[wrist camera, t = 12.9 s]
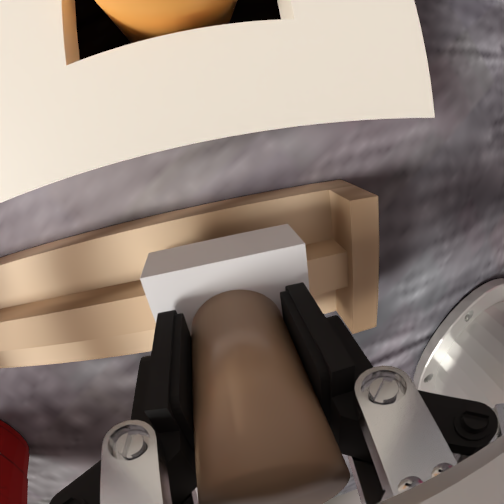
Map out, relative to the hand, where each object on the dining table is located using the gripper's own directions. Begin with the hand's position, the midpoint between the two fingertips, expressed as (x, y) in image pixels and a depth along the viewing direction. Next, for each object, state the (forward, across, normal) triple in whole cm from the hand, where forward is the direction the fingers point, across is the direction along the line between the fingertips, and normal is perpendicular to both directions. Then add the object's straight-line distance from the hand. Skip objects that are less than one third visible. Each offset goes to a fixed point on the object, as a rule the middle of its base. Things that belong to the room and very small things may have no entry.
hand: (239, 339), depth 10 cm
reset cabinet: (+6, 0, -11) cm, 12 cm away
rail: (+6, +6, 0) cm, 8 cm away
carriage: (+4, 0, 0) cm, 4 cm away
